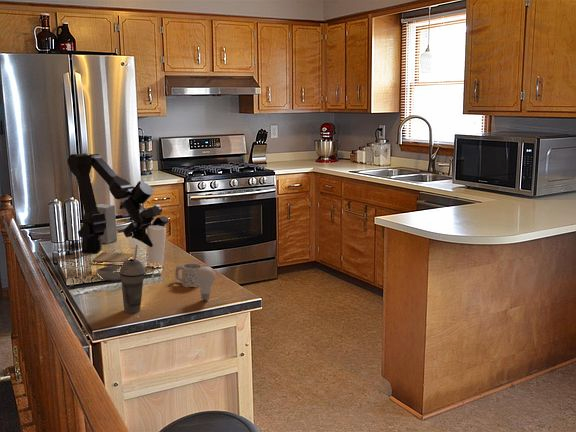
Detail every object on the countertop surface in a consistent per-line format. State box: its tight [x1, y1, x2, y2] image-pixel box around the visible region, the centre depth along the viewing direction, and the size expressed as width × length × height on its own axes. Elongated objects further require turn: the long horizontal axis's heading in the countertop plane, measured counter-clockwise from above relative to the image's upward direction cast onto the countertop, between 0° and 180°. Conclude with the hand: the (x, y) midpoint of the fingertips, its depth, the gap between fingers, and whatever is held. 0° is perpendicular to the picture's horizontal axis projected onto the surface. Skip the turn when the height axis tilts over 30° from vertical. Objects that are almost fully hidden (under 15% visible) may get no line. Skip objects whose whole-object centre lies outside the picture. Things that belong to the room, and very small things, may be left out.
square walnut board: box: [92, 251, 134, 263], centre depth 226 cm, size 12×12×2 cm
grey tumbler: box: [146, 225, 167, 267], centre depth 220 cm, size 7×7×15 cm
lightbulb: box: [196, 266, 217, 301], centre depth 186 cm, size 6×6×11 cm
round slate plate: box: [96, 265, 121, 282], centre depth 208 cm, size 13×13×2 cm
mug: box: [174, 263, 203, 288], centre depth 202 cm, size 10×7×7 cm
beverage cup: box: [120, 244, 146, 314], centre depth 173 cm, size 7×7×20 cm
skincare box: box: [96, 203, 118, 244], centre depth 252 cm, size 8×7×16 cm
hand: (158, 244), depth 219 cm, fingers closed on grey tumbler, 6 cm apart
